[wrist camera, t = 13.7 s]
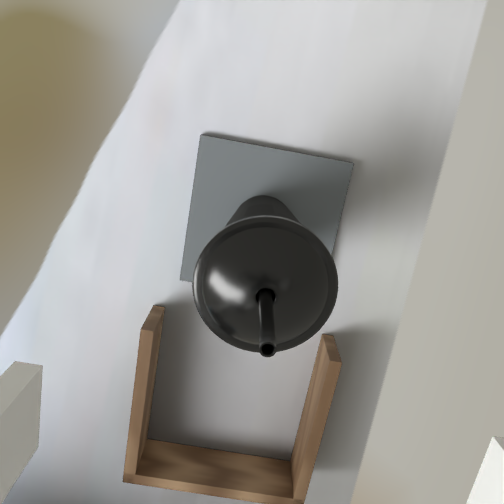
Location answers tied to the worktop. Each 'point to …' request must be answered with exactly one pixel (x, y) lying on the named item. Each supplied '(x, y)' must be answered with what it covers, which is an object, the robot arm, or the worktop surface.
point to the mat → (261, 190)
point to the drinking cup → (265, 279)
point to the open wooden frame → (222, 462)
